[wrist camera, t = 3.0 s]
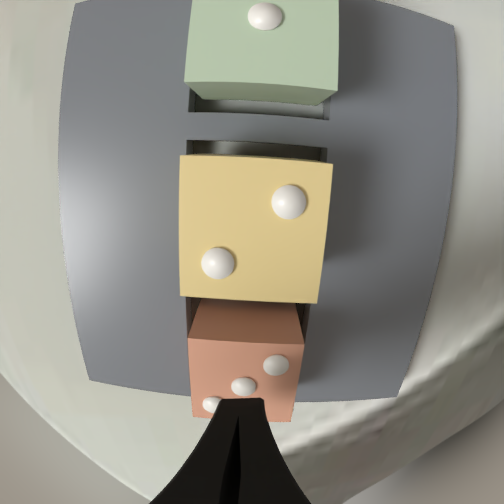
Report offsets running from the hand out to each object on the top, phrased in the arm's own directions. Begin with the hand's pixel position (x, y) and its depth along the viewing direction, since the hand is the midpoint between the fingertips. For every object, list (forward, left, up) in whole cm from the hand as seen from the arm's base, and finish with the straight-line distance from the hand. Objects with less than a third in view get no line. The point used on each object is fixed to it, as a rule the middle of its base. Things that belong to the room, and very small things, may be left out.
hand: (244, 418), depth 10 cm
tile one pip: (0, -12, -4) cm, 13 cm away
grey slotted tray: (0, -6, -5) cm, 8 cm away
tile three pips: (0, 0, -5) cm, 5 cm away
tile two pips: (0, -6, -4) cm, 7 cm away
